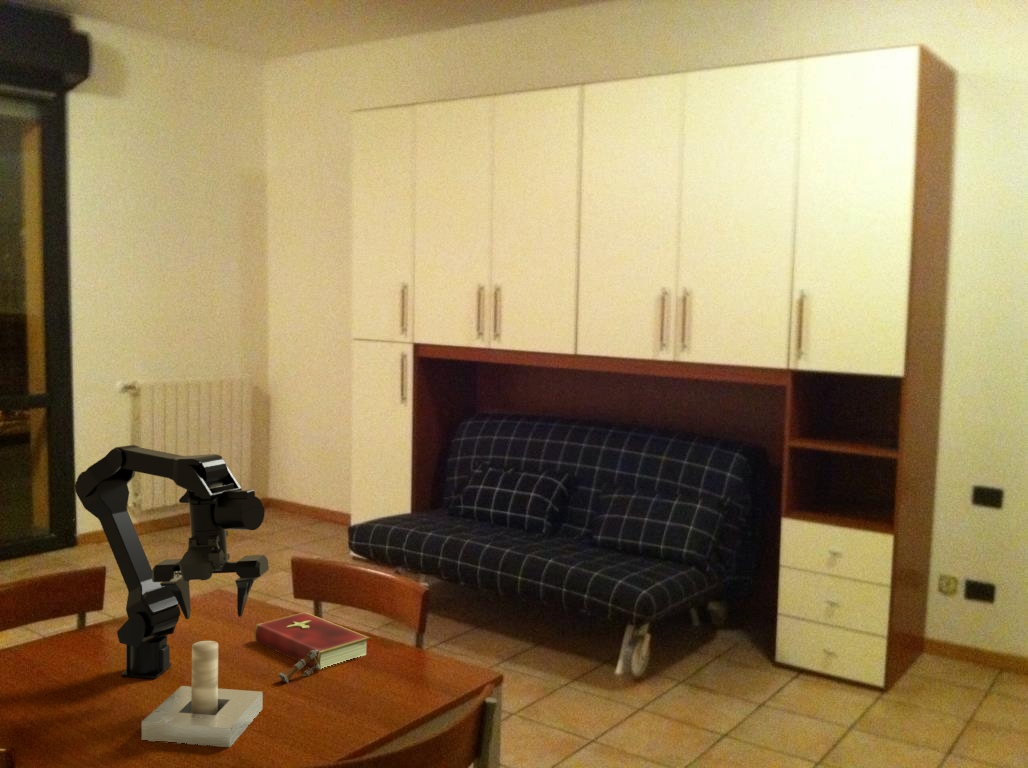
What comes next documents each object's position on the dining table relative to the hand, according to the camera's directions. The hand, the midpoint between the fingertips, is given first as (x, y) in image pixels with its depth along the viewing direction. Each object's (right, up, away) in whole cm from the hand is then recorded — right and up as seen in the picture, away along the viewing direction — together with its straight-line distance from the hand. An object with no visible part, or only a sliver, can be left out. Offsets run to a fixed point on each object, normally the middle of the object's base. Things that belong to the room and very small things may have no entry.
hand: (214, 617), depth 166 cm
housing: (+2, -14, -13) cm, 19 cm away
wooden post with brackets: (+13, -13, +8) cm, 20 cm away
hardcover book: (+12, -12, +22) cm, 28 cm away
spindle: (+2, -14, -13) cm, 19 cm away
